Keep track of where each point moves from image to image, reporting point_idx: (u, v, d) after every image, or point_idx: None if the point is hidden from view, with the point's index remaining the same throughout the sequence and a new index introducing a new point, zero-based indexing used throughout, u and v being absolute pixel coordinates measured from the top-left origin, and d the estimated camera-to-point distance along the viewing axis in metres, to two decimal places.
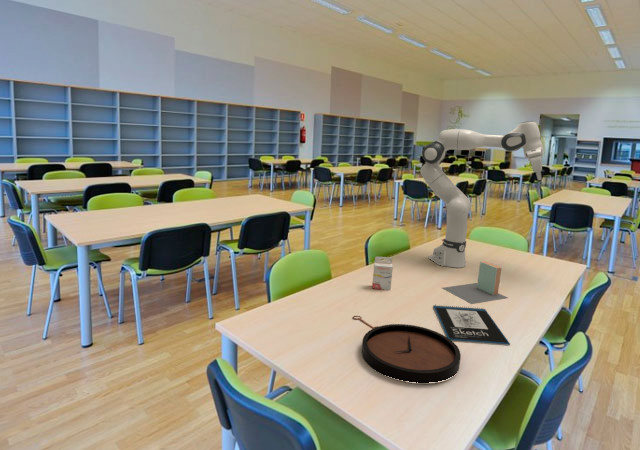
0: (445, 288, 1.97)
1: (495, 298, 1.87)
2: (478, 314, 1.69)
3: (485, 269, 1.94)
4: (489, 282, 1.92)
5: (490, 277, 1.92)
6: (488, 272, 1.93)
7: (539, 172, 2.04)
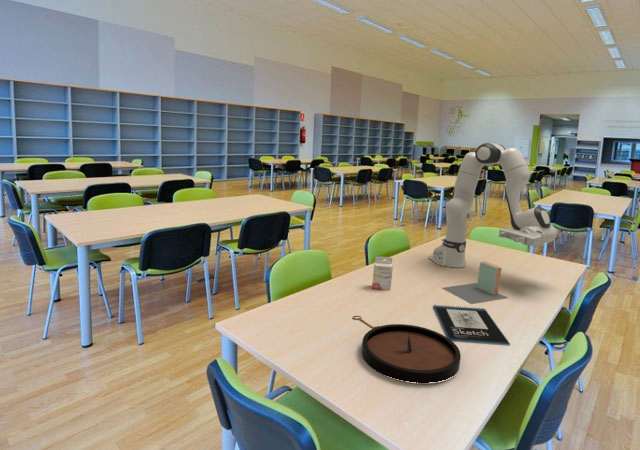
0: (445, 288, 1.97)
1: (495, 298, 1.87)
2: (478, 314, 1.69)
3: (485, 269, 1.94)
4: (489, 282, 1.92)
5: (490, 277, 1.92)
6: (488, 272, 1.93)
7: (524, 241, 1.90)
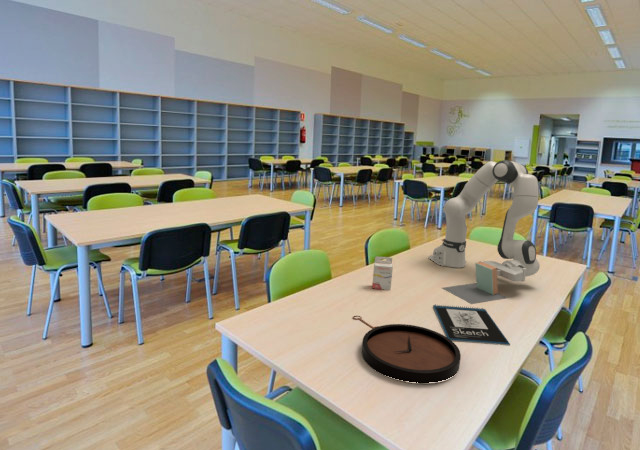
0: (445, 288, 1.97)
1: (495, 298, 1.87)
2: (478, 314, 1.69)
3: (481, 270, 1.93)
4: (487, 283, 1.92)
5: (487, 278, 1.91)
6: (484, 273, 1.92)
7: (499, 274, 1.93)
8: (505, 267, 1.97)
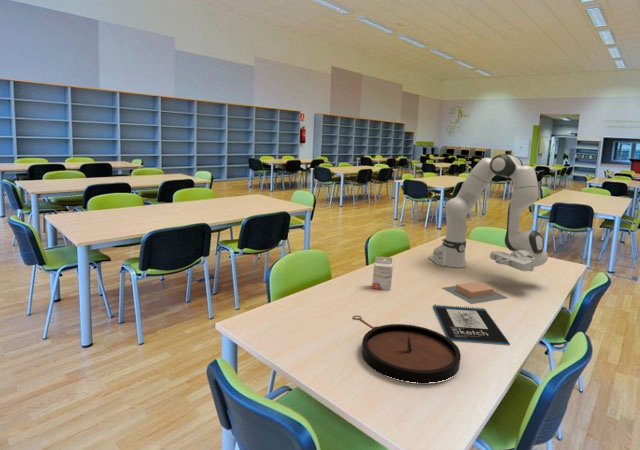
0: (445, 288, 1.97)
1: (495, 298, 1.87)
2: (478, 314, 1.69)
3: None
4: None
5: None
6: None
7: (508, 263, 1.94)
8: (514, 257, 1.98)
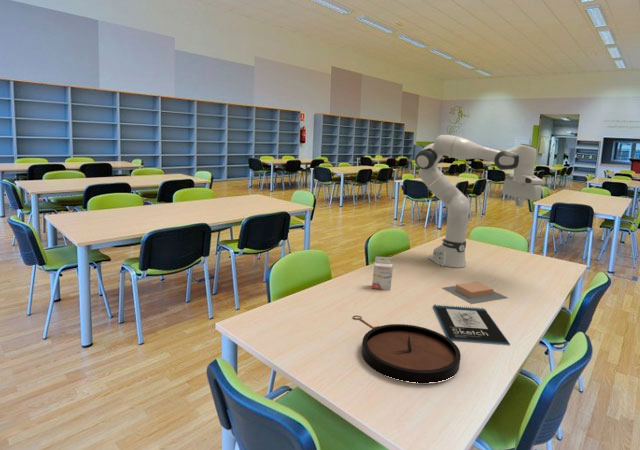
0: (445, 288, 1.97)
1: (495, 298, 1.87)
2: (478, 314, 1.69)
3: None
4: None
5: None
6: None
7: (524, 199, 2.01)
8: (520, 187, 2.00)
